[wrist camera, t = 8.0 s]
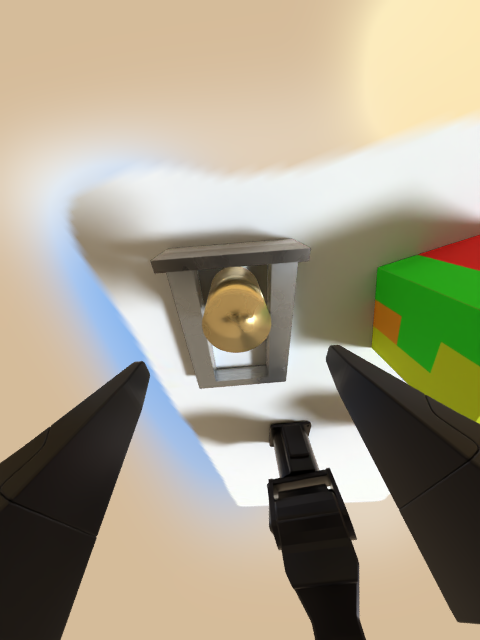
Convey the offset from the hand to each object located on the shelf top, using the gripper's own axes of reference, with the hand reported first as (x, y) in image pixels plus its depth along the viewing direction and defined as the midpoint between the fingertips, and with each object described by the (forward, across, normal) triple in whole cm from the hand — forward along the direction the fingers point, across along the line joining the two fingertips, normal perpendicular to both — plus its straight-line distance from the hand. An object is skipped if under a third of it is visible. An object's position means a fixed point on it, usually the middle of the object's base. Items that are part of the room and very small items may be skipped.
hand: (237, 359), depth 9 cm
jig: (+9, 0, +4) cm, 10 cm away
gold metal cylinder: (+9, 0, 0) cm, 9 cm away
